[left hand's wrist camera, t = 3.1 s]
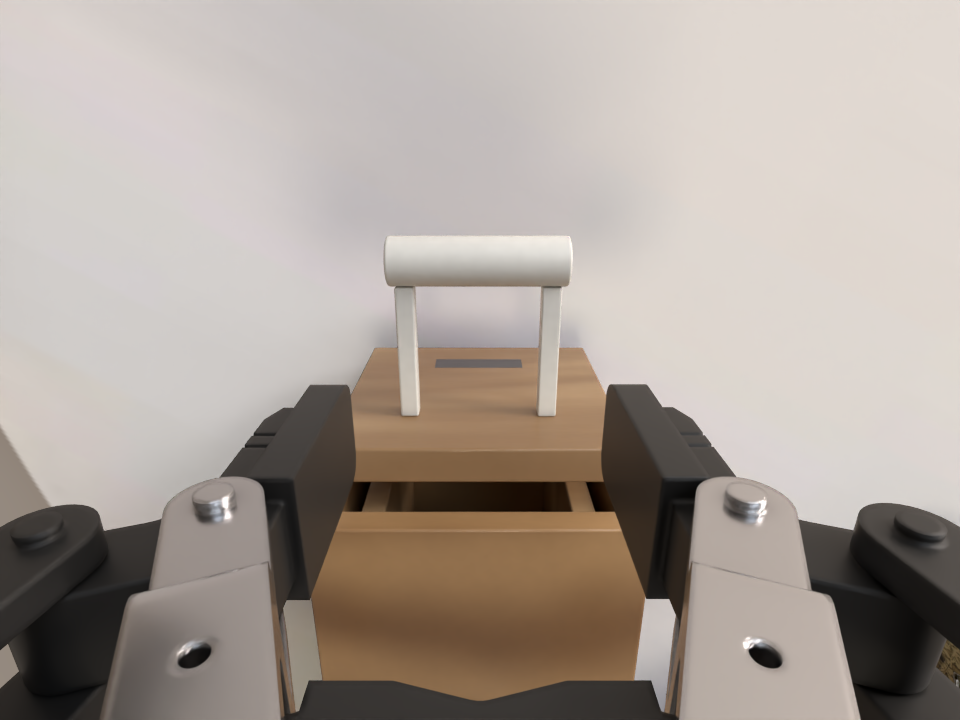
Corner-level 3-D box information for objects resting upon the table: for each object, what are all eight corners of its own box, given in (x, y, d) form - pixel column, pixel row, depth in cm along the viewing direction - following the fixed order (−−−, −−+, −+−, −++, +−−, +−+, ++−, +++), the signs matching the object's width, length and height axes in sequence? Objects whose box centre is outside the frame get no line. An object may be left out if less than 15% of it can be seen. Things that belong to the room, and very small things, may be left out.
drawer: (364, 210, 23) (299, 250, 15) (592, 211, 23) (656, 250, 15) (394, 631, 32) (363, 810, 23) (563, 631, 32) (593, 810, 23)
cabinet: (368, 383, 27) (300, 530, 17) (589, 383, 27) (655, 530, 17) (389, 662, 34) (350, 890, 23) (567, 662, 34) (606, 890, 23)
